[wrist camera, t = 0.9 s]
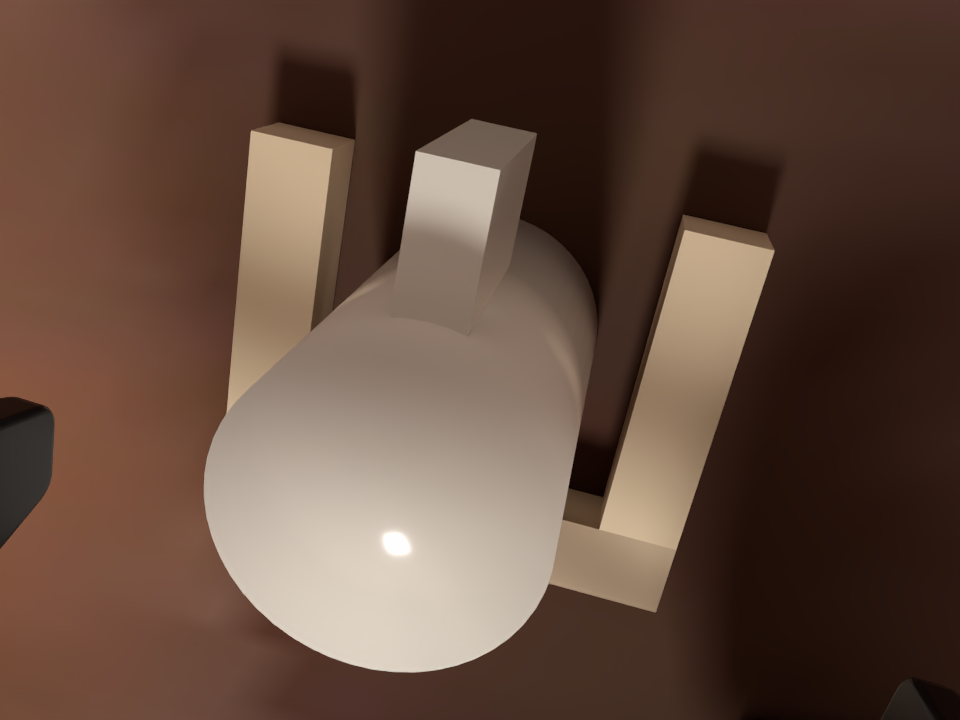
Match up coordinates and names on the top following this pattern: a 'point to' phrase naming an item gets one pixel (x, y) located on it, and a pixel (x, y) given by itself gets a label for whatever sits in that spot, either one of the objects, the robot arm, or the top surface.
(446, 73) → the top surface
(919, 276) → the top surface
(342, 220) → the oak cradle
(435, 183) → the cream jug
